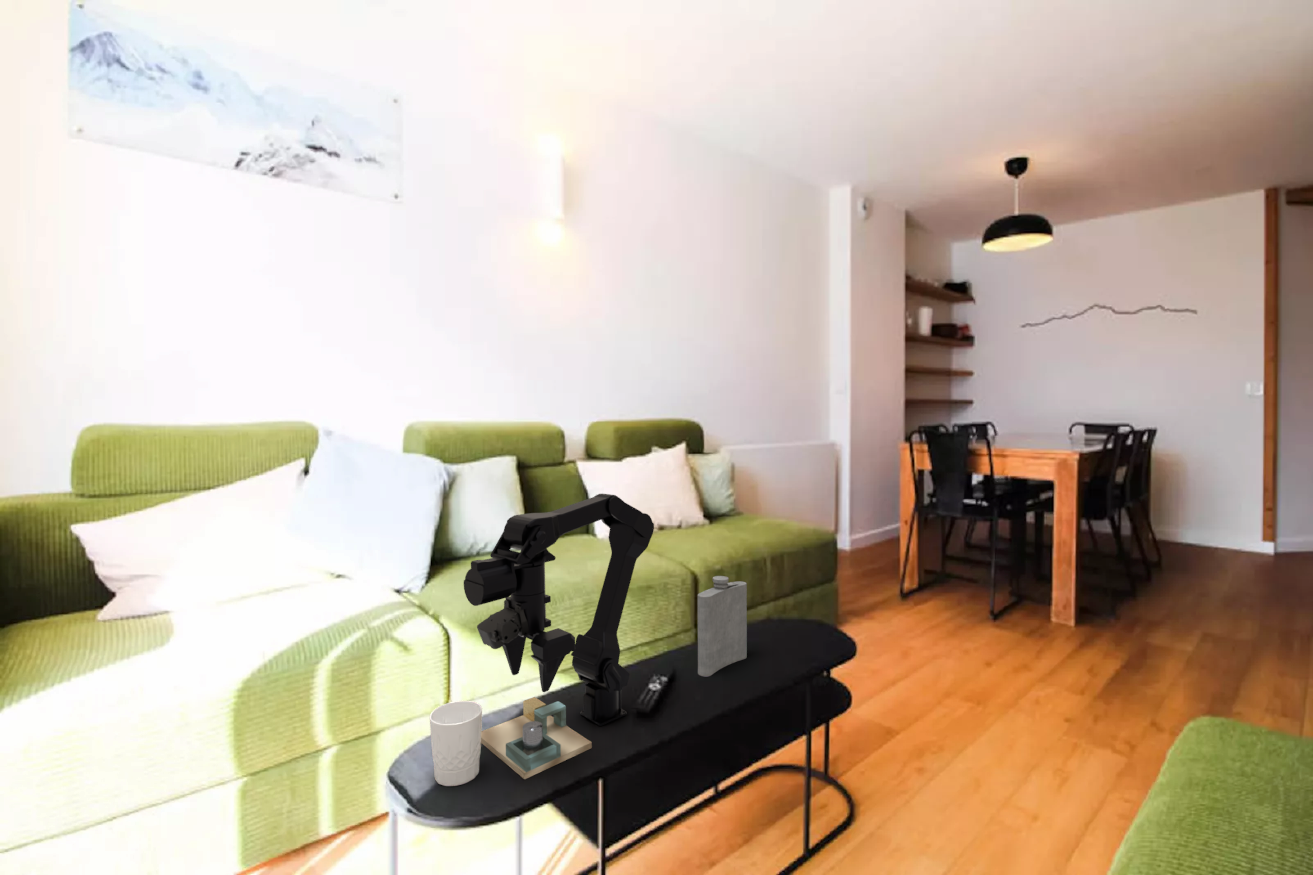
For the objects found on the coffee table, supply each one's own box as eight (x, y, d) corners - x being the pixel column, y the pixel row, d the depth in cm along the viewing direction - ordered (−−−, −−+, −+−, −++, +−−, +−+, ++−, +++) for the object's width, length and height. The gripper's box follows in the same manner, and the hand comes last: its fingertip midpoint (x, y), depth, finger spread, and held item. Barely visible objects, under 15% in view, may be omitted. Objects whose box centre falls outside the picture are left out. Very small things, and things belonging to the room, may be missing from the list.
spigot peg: (536, 748, 101) (535, 719, 101) (546, 756, 98) (546, 726, 98) (519, 756, 99) (518, 726, 98) (529, 764, 96) (529, 733, 96)
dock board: (540, 713, 115) (539, 690, 115) (591, 748, 103) (591, 721, 103) (476, 738, 106) (475, 713, 106) (524, 779, 94) (524, 750, 94)
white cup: (488, 759, 100) (487, 699, 99) (475, 788, 92) (474, 724, 91) (440, 760, 99) (439, 700, 99) (423, 790, 91) (422, 725, 91)
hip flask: (706, 677, 130) (705, 586, 129) (691, 672, 133) (691, 582, 132) (749, 656, 141) (749, 572, 141) (735, 652, 144) (735, 569, 144)
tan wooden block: (534, 711, 114) (534, 696, 114) (546, 718, 111) (545, 704, 111) (523, 715, 112) (523, 701, 112) (534, 723, 109) (534, 708, 109)
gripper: (456, 590, 102) (459, 680, 102) (515, 615, 88) (517, 719, 89) (514, 577, 110) (516, 661, 110) (576, 598, 96) (578, 694, 97)
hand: (529, 682), depth 101 cm, fingers open, 9 cm apart
